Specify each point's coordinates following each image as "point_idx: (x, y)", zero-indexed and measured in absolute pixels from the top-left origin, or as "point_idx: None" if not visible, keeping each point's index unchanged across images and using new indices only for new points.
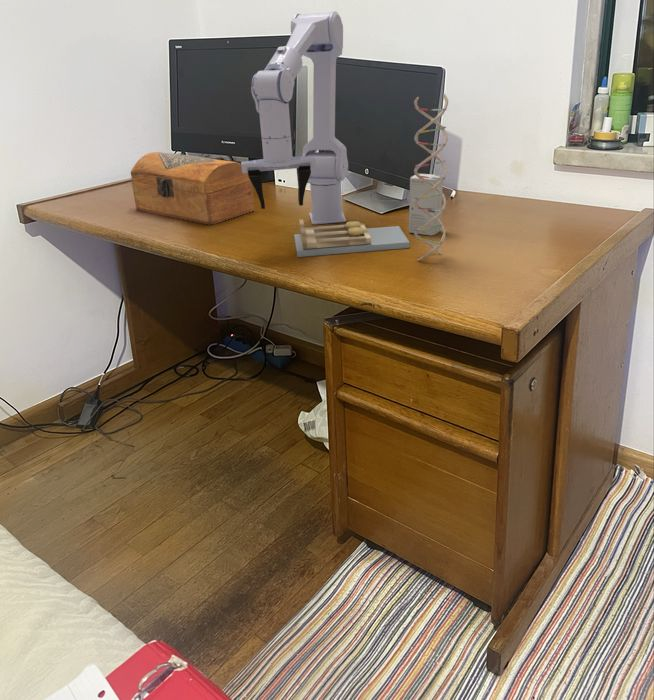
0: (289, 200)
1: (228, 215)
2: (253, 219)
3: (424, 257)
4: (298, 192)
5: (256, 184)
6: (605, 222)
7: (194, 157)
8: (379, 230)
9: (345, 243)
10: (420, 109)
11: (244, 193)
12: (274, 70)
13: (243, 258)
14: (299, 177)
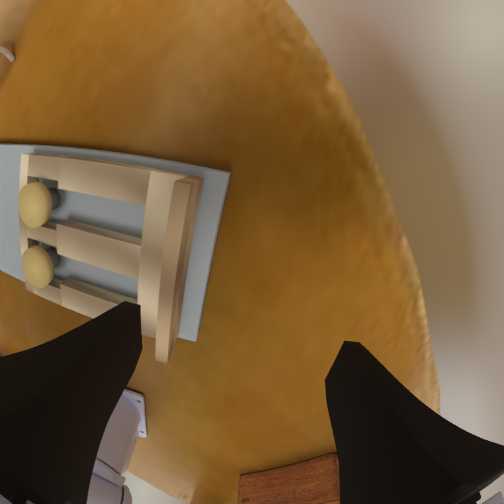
0: (176, 479)
1: (294, 469)
2: (253, 456)
3: (6, 49)
4: (117, 388)
5: (453, 437)
6: None
7: None
8: (12, 256)
9: (76, 158)
10: None
11: (255, 500)
12: None
13: (381, 246)
14: (13, 407)
